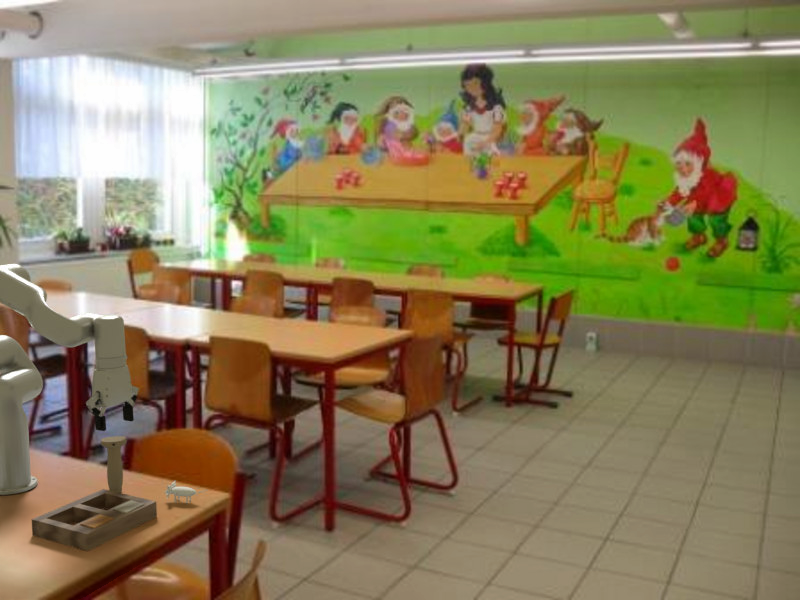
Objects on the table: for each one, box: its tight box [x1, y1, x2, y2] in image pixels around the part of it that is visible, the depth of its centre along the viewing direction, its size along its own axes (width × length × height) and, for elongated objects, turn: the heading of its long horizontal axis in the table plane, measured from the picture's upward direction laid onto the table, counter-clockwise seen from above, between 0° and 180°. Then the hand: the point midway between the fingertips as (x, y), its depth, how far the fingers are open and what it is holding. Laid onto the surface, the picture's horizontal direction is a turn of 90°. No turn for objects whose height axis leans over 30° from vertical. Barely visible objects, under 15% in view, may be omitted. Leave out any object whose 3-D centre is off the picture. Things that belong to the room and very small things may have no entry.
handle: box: [100, 435, 127, 493], centre depth 219 cm, size 5×6×15 cm
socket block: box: [31, 488, 158, 552], centre depth 199 cm, size 18×22×4 cm
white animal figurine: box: [164, 480, 208, 504], centre depth 214 cm, size 12×5×5 cm, turn 77°
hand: (115, 425), depth 218 cm, fingers open, 9 cm apart
